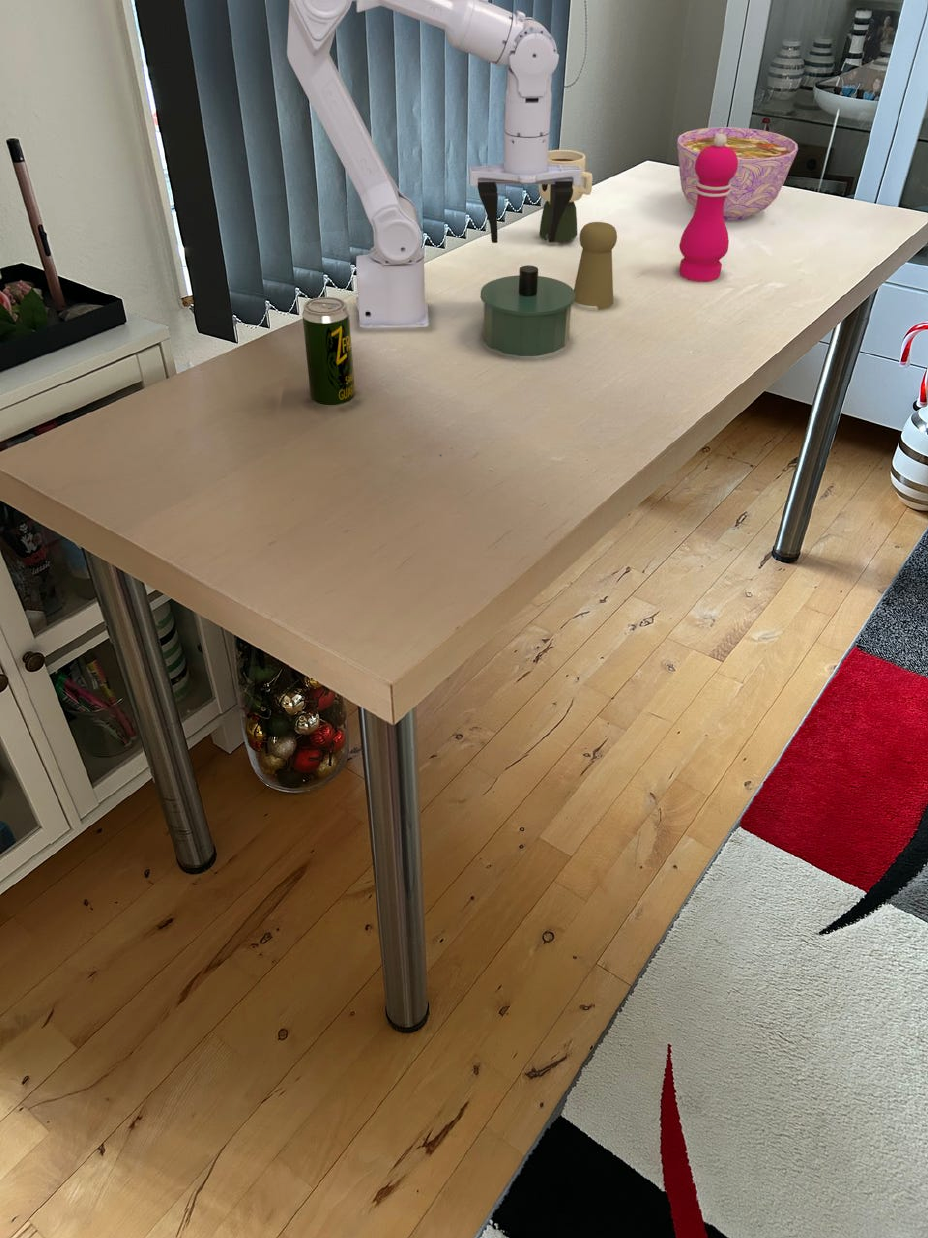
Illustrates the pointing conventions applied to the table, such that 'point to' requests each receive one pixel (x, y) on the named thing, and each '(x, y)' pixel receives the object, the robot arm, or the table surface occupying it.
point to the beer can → (328, 351)
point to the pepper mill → (708, 213)
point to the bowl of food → (740, 167)
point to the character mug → (569, 217)
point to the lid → (527, 294)
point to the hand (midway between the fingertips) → (522, 239)
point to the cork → (596, 265)
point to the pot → (525, 332)
